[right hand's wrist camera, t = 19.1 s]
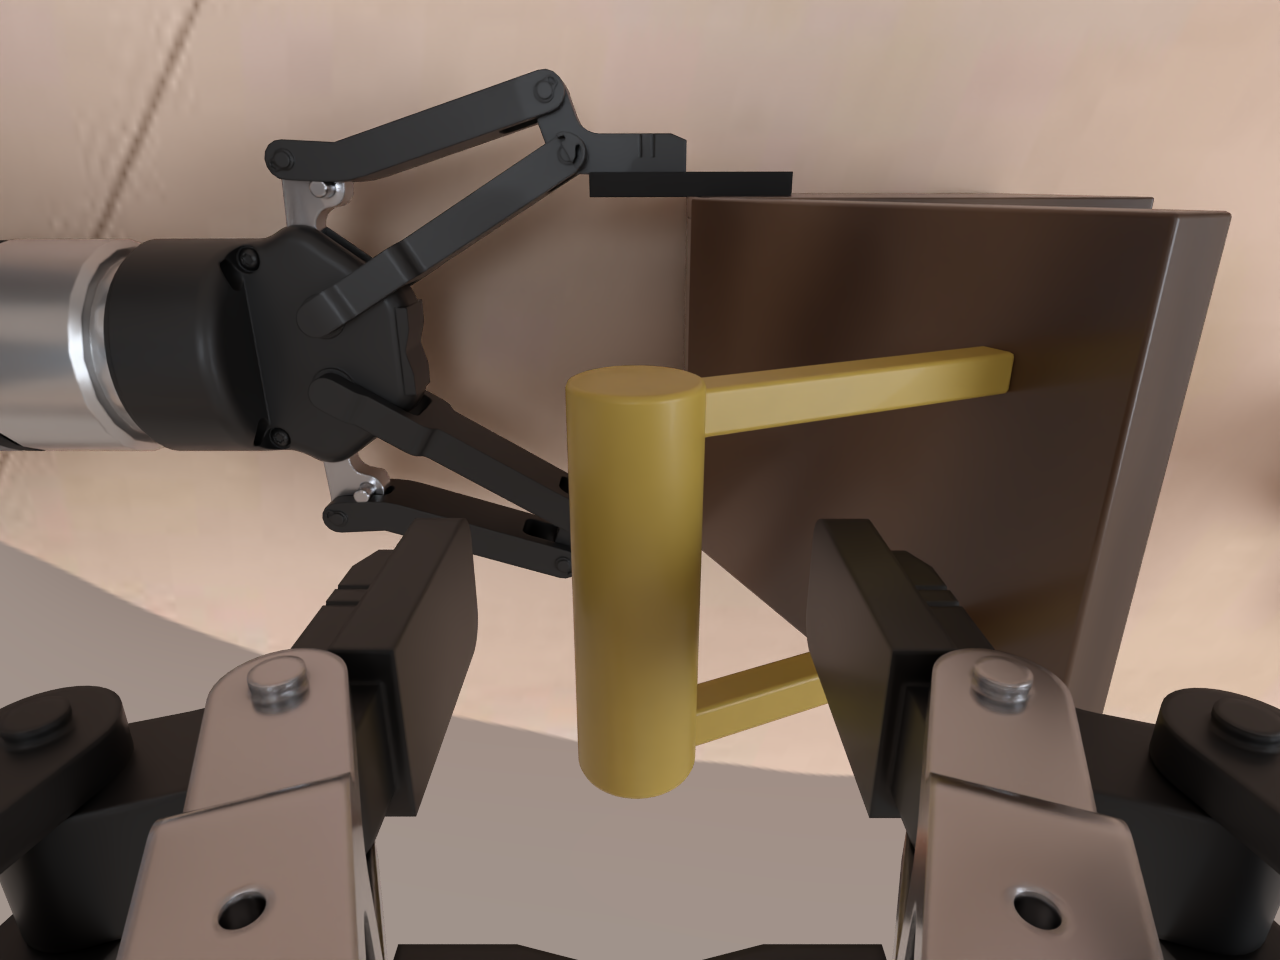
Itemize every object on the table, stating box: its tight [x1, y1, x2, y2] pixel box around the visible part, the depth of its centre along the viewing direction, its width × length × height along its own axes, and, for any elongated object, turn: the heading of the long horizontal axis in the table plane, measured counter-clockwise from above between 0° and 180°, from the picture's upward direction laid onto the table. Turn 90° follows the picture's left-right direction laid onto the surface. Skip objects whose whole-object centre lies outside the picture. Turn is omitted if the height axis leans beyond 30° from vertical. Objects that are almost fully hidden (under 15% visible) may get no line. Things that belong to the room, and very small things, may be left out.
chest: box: [684, 193, 1154, 372], centre depth 29 cm, size 13×10×10 cm
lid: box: [565, 198, 1231, 799], centre depth 16 cm, size 13×10×9 cm
